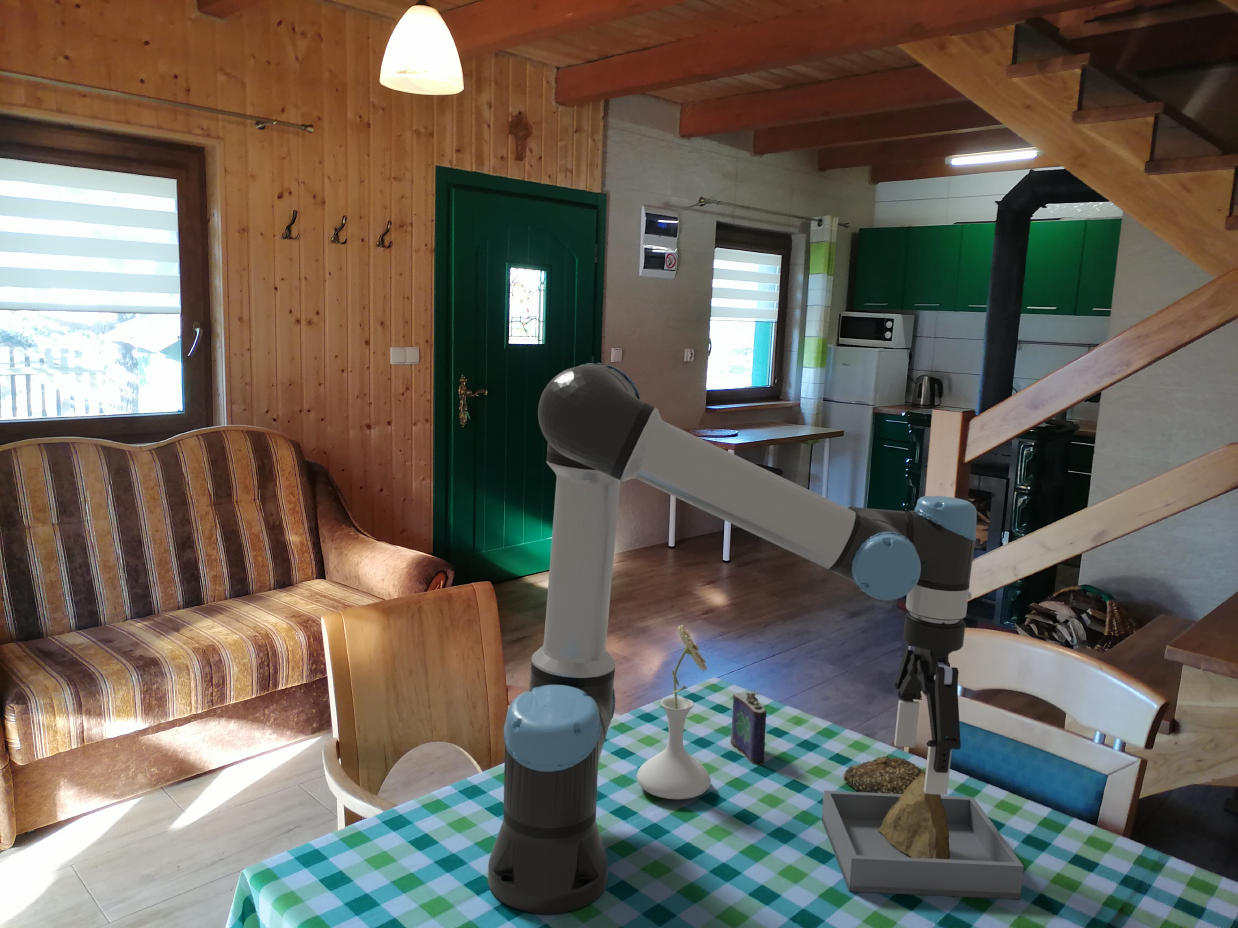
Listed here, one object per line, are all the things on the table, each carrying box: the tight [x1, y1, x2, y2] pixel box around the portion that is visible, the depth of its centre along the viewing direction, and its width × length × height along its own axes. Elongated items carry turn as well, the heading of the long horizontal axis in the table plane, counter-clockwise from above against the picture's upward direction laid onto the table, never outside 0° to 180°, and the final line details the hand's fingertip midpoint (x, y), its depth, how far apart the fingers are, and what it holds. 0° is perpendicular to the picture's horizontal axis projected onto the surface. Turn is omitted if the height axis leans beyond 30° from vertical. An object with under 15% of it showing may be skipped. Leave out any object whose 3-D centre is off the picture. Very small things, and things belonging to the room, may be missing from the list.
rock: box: [879, 772, 950, 859], centre depth 126 cm, size 11×9×10 cm
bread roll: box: [842, 755, 926, 794], centre depth 146 cm, size 13×12×5 cm
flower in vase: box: [636, 624, 712, 800], centre depth 142 cm, size 13×11×25 cm
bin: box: [821, 790, 1025, 900], centre depth 126 cm, size 22×18×4 cm
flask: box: [730, 690, 767, 766], centre depth 156 cm, size 9×3×11 cm, turn 21°
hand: (918, 768), depth 125 cm, fingers open, 13 cm apart
